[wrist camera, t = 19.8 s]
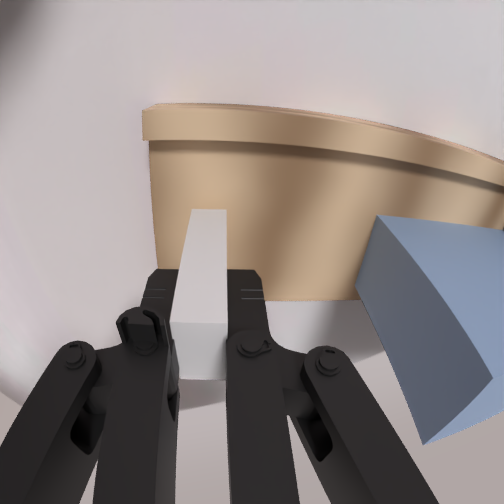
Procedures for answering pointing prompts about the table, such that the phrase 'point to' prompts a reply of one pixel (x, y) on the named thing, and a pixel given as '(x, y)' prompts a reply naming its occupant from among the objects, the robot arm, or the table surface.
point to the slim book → (439, 317)
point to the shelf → (305, 189)
